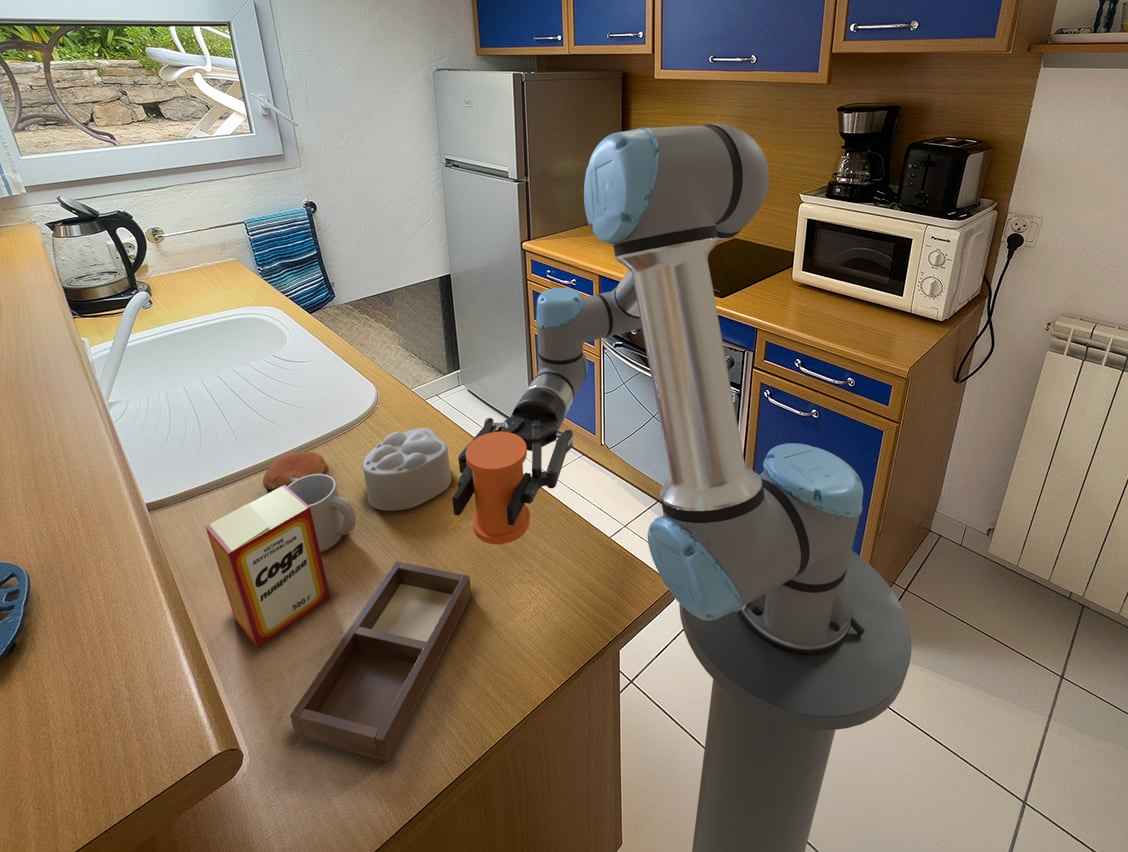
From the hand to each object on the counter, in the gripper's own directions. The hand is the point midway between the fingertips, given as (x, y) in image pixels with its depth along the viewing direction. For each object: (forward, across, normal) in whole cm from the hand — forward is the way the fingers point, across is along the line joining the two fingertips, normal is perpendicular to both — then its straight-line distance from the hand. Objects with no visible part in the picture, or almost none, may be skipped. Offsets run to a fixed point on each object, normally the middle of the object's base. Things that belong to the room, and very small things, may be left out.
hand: (482, 511), depth 73 cm
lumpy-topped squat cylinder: (-19, +23, -17) cm, 34 cm away
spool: (-5, 0, -6) cm, 8 cm away
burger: (-15, +41, -17) cm, 47 cm away
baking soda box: (+6, +27, -17) cm, 32 cm away
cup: (-6, +29, -17) cm, 34 cm away
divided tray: (+9, +9, -17) cm, 21 cm away
